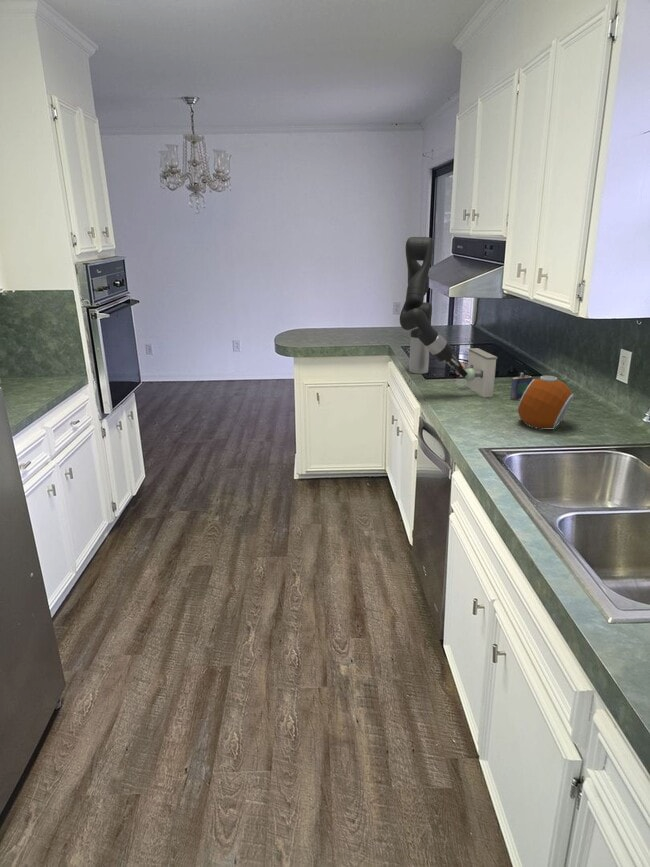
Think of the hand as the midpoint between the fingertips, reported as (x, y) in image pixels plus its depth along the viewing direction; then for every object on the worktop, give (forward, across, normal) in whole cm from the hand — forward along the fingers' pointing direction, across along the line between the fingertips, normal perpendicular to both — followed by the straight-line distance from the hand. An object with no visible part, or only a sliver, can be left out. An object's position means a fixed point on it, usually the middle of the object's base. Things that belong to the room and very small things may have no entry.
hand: (465, 375), depth 240 cm
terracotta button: (+5, +10, -2) cm, 11 cm away
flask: (+21, -8, -8) cm, 24 cm away
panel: (+13, +5, 0) cm, 14 cm away
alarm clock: (+16, -40, -3) cm, 43 cm away
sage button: (+5, 0, -2) cm, 5 cm away
